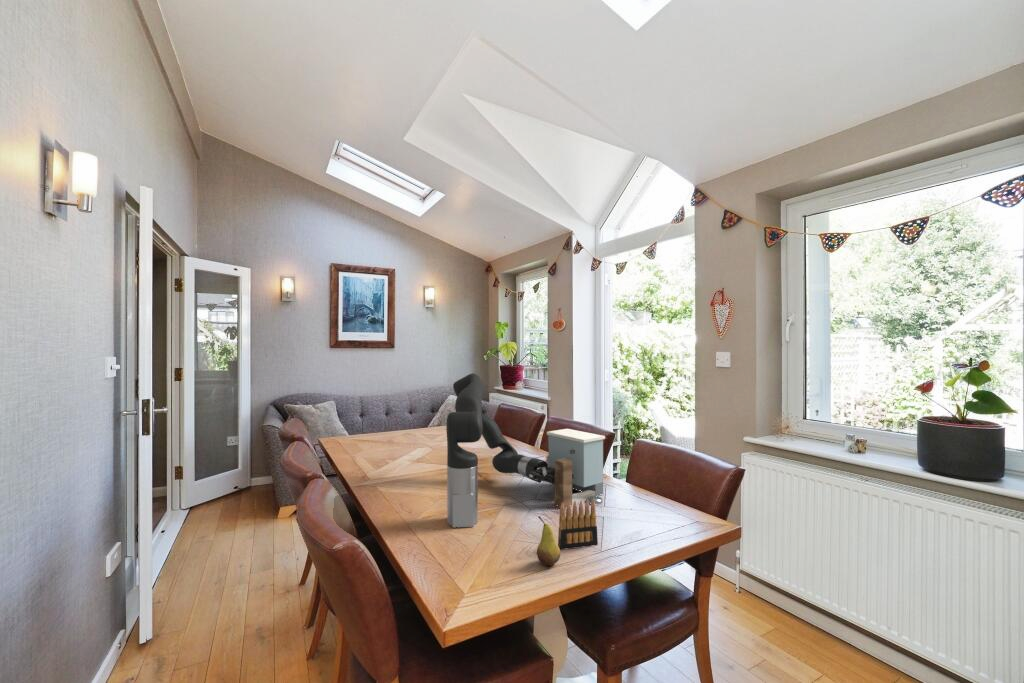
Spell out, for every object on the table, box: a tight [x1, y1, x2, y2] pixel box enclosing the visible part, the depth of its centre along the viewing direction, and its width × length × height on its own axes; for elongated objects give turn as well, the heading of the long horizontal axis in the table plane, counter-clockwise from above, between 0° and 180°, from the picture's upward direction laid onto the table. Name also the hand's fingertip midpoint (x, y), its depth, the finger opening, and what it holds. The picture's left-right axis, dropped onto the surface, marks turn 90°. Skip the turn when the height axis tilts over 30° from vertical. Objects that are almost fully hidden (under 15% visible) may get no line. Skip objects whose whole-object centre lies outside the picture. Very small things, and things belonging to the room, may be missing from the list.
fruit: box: [536, 515, 561, 566], centre depth 113 cm, size 6×6×12 cm
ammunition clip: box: [557, 500, 599, 550], centre depth 123 cm, size 11×2×12 cm, turn 104°
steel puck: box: [588, 496, 603, 505], centre depth 157 cm, size 5×5×2 cm
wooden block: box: [554, 459, 595, 509], centre depth 158 cm, size 4×16×15 cm, turn 128°
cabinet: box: [546, 428, 606, 497], centre depth 169 cm, size 19×12×21 cm, turn 38°
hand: (564, 478), depth 154 cm, fingers open, 8 cm apart
